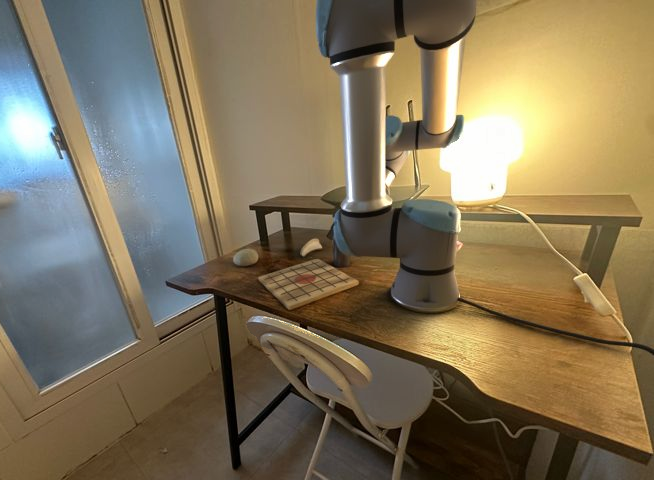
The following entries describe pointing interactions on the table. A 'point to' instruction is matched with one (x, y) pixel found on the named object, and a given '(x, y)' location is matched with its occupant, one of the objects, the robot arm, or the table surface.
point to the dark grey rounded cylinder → (339, 256)
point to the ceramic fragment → (310, 247)
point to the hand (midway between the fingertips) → (342, 243)
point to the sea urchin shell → (245, 257)
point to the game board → (306, 283)
